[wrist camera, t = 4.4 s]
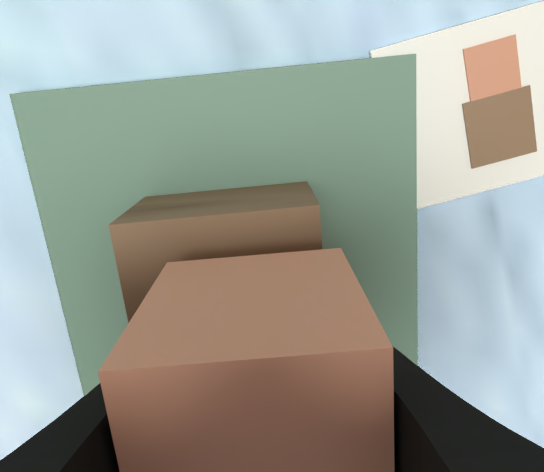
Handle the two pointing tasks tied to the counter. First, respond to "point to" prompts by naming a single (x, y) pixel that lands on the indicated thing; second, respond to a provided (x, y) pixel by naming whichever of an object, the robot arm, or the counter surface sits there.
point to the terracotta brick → (253, 370)
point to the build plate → (228, 174)
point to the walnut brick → (210, 230)
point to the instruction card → (478, 104)
